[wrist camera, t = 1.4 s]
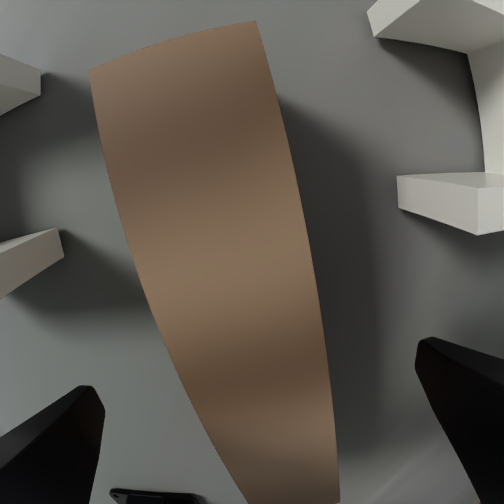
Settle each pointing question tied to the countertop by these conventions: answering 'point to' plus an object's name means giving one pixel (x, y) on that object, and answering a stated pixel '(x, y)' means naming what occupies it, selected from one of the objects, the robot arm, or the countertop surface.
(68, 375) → the countertop surface
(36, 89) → the cap
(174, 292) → the brown bar
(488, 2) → the cap
